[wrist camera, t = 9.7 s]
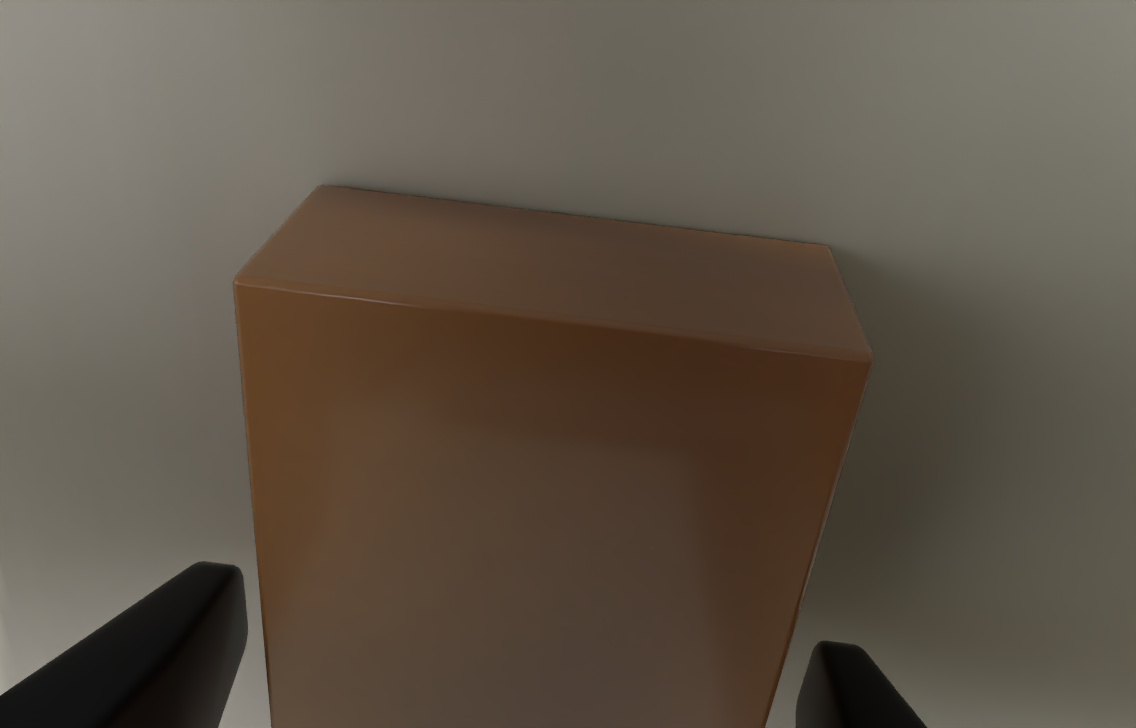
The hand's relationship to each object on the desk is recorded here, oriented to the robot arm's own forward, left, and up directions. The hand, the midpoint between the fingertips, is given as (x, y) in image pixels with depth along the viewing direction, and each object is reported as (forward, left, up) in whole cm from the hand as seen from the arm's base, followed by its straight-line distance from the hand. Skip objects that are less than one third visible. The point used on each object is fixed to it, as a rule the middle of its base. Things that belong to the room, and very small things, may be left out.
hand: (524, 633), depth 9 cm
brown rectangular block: (0, 0, -1) cm, 1 cm away
